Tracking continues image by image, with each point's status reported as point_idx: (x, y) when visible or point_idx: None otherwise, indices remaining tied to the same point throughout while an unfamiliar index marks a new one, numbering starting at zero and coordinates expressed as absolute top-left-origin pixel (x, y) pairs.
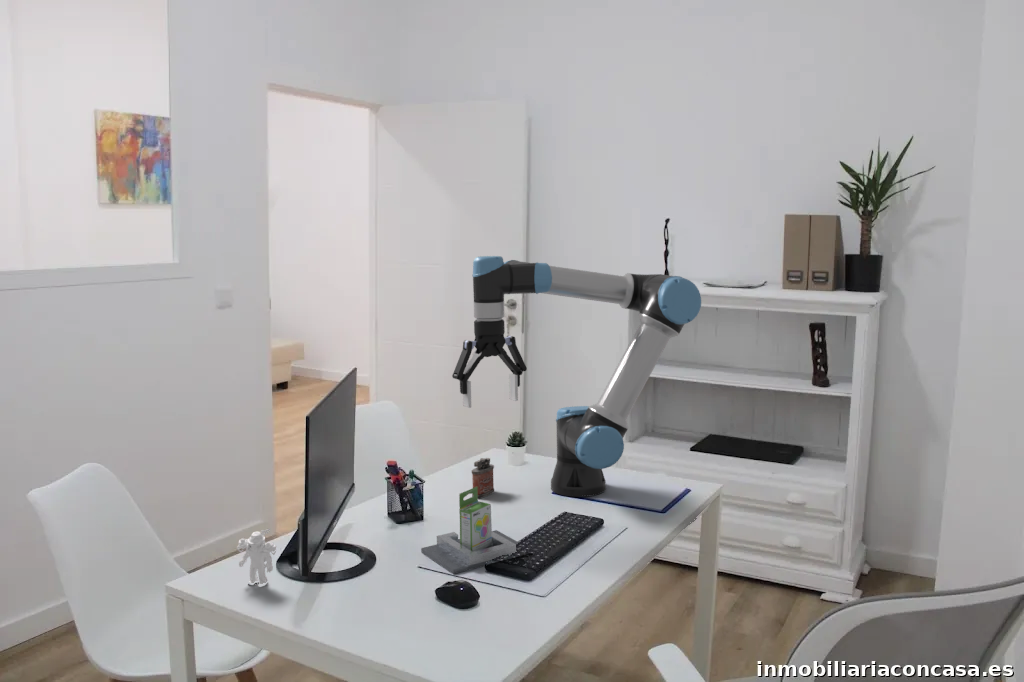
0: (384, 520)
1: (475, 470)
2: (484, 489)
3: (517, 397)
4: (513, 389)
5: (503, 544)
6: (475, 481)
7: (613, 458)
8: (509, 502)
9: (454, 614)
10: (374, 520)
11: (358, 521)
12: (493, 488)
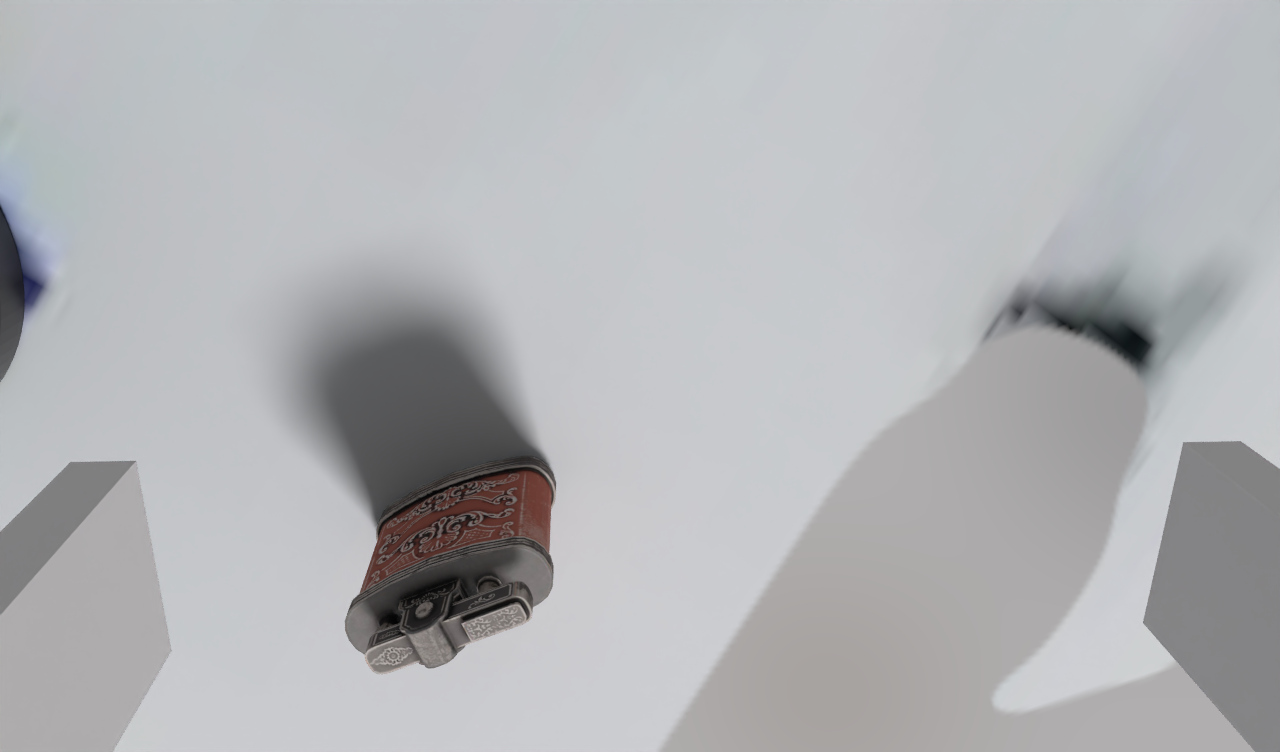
0: (1170, 422)
1: (525, 580)
2: (477, 490)
3: (48, 495)
4: (38, 664)
5: None
6: (541, 522)
7: None
8: (399, 289)
9: None
10: None
11: None
12: (384, 524)
